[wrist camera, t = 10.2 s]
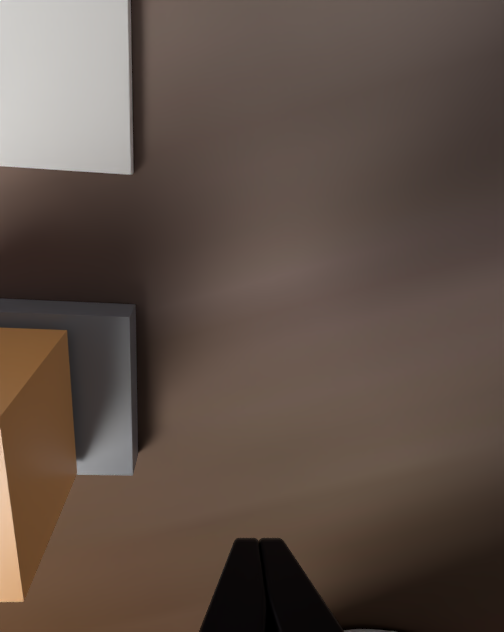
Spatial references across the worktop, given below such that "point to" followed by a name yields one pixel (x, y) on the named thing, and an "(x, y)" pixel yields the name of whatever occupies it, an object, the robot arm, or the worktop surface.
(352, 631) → the utensil holder
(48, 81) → the sheet
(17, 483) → the orange cube
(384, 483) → the worktop surface
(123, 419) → the switch base
